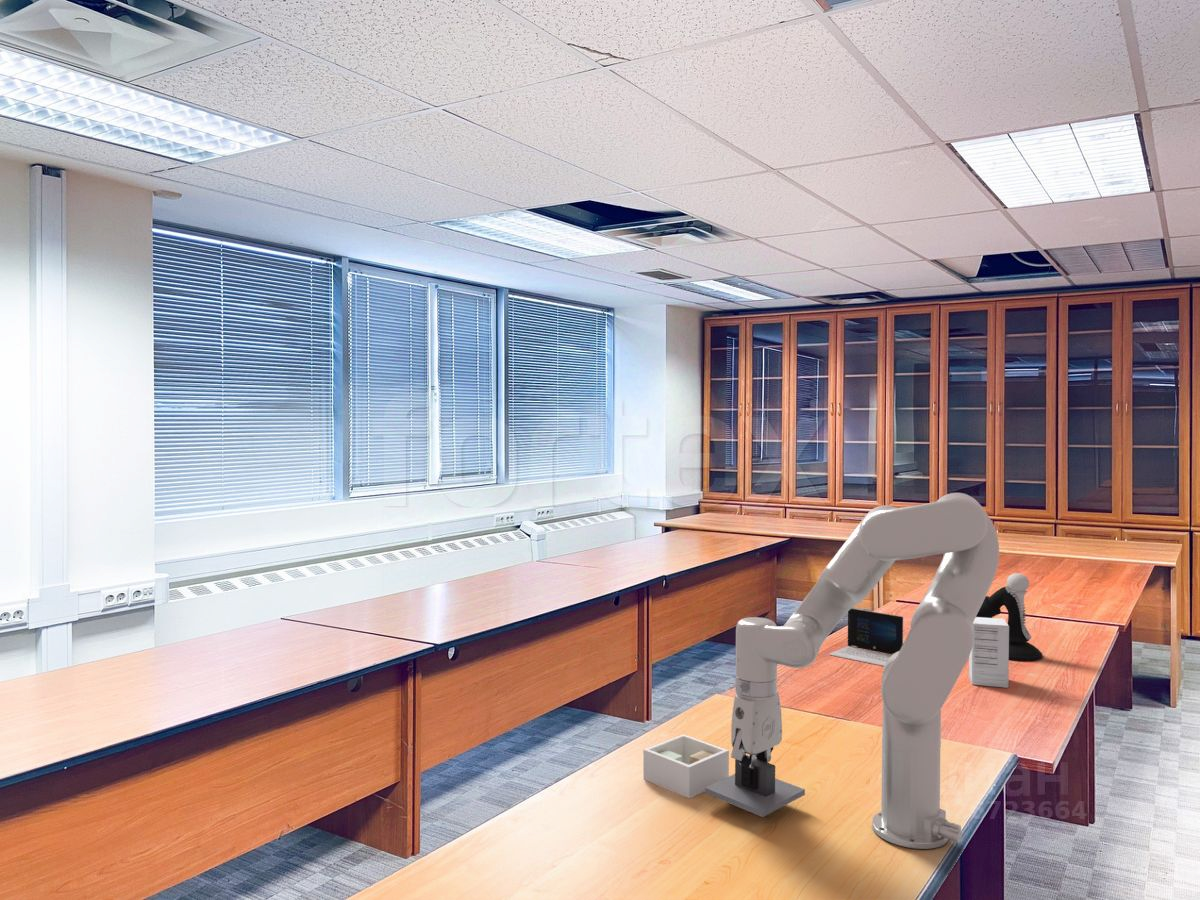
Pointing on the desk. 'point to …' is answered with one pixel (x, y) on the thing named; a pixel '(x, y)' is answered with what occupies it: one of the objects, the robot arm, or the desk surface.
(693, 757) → the birch block
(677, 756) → the sage block
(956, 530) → the robot arm
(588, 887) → the desk surface
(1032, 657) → the sculpture
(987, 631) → the supplement box
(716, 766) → the storage box
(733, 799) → the lid
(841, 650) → the laptop
